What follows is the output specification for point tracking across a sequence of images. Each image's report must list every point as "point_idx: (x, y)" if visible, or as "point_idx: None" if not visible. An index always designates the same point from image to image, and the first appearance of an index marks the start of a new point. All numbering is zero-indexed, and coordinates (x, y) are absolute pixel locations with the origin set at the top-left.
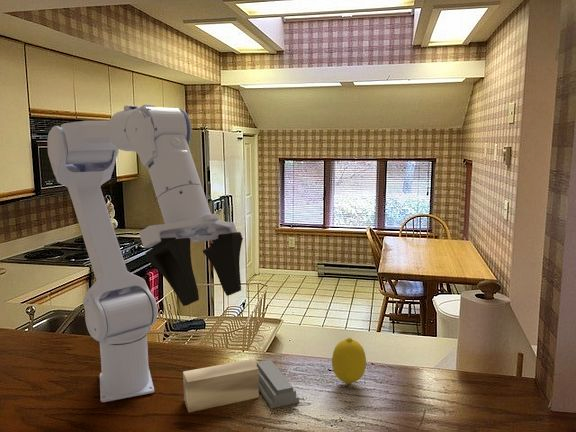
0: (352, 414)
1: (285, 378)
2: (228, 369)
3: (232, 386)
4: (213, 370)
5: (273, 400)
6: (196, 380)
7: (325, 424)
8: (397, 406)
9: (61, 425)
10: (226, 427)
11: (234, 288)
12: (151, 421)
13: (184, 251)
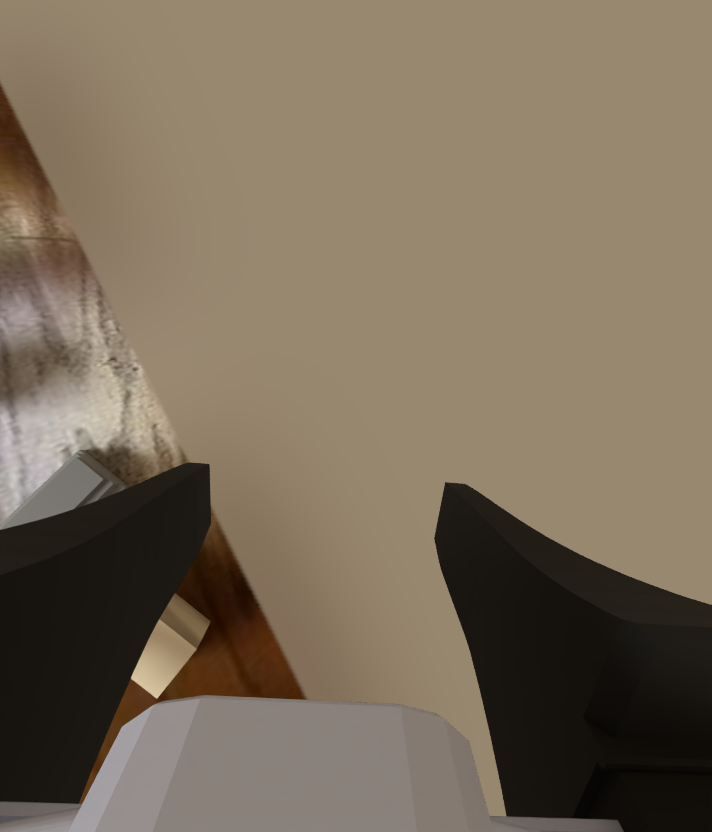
0: (84, 347)
1: (42, 490)
2: None
3: None
4: None
5: (114, 488)
6: (180, 636)
7: (137, 379)
8: (20, 282)
9: None
10: (220, 526)
11: (204, 485)
12: (265, 661)
13: (615, 589)
